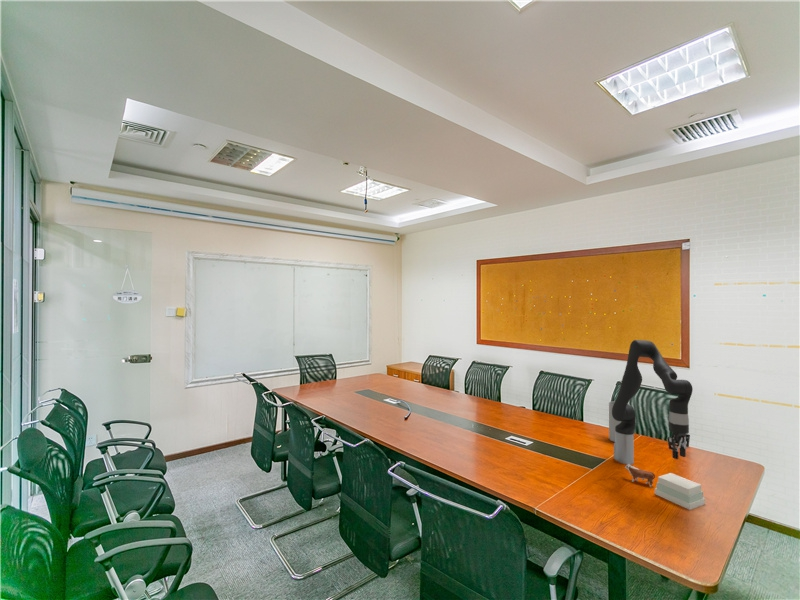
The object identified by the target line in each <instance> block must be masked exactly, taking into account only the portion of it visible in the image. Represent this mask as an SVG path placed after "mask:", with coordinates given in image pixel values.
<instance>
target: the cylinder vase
mask: <svg viewBox="0 0 800 600" xmlns="http://www.w3.org/2000/svg"><path fill="white" fill-rule="evenodd" d="M614 403H615V401H613V400H612V401H609V402H608V439H609V441H610V442H613V443H615V427H616V425H618V424H620V423H621V421H617V420H615V419H614V418H613V416H612V408H613V405H614ZM627 405H631V404H630V403H628V404H627Z"/></svg>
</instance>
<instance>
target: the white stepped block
mask: <svg viewBox="0 0 800 600" xmlns="http://www.w3.org/2000/svg"><path fill="white" fill-rule="evenodd" d="M654 495H656V496H658V497H661V498H663V499H665V500H667V501H670V502H671V503H673V504H676V505H679V506H680V507H682V508H685V509H686V510H688V511H691V510H694V509H696V508H700V507H702V506H704V505H706V497H704V491H703V490H702V484H701V483H699V482H695V481H693V480H690V479H688V478H684V477H682V476H680V475H678V474H675V473H673V472H669V473H665V474H663V475H659V476H657V482H656V487H655V488H654Z"/></svg>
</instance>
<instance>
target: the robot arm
mask: <svg viewBox="0 0 800 600" xmlns="http://www.w3.org/2000/svg"><path fill="white" fill-rule="evenodd" d="M639 358H649V359H651V360H652V362H653V363H652V364H653V365H652V367H653V368H652V369H653V371H654V373H655V374H656V376H658V378H659V379H660V380H661V382H662V384H663V388H664V390H665V392H666V393H669V394H670V395H674V396H677V397H675V398H671V399H670V400H669V402H668V403H669V405H668V406H669V410H668V411H669V414H668V430H669V432H671V436H670V437H669V436H668V437H667V444H668V449H669V450H671V451H672V455H671V456H672V458H673V459H675V460H679V456H680V457H683V458H685V457H686V456H687V455H686V454H687V452H686V450H687V448H689V446H690V437H691V435H690V434H689V433H690V428H689V427H690V424H689V423H690V418H689V402H690V400H691V398H692V394H693V385H692V383H691V382H690V381H689V380H686V379H678V374H677V373H676V371H675V370H674V369H673V368H672V367H671V366H670V365H669V364H668V363H667V361H665V359H664V357H663V355H662V354H661V352H660V351H659V349H658V347H657V346H656V344H654V342H652V341H651V340H646V339H645V340H642V339H634V340H632V341H631V342H630V345H629V349H628V354H627V362H626V365H625V369H624V372H623V375H622V379H621V382H620V388H619V390H618V393H617V396H616V398H615V403H614V405H613V408H612V416H613V418H614V419H615V420H617V421H621V423H620V424H618V425H616V427H615V442H613V459H614V460H615V462H617V461H618V463H620V464H623V465H628V464H630V465H633V464H634V463H635V461H634V459H635V453H634V452H635V451H634V449H635V448H634V447H635V446H634V445H635V444H634V437H635V435H634V432H635V429H636V415H637V414H636V411H635V408H634V407H633V406H632V405H631V404H630V405H627V404H629V402H630V401H631V399H633V398H634V397H635V396H636V394H637V393H638V392H639V391H640V389H641V386H642V382H643V377H642V374H641V371H640V370H639V369H640V368H639V366H638V362H639V360H640V359H639Z"/></svg>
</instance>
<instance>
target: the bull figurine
mask: <svg viewBox="0 0 800 600" xmlns="http://www.w3.org/2000/svg"><path fill="white" fill-rule="evenodd" d="M624 468H625V469H626V470H627V471H628V473H629V474H630V476H632V480H631V482H633V483H634V482H635V481H636V482H639V480H638V479H641V480H642V481H645V480H647V481H646V482H645V484H646V485H648V484H649V487H650V488H651V487H653V484H654V482H653V481H654V479H655V478H656V475H655V474H654V472H652V471H649V470H643V469H640V468H638V467H635V466H634V465H633V464H625V466H624Z"/></svg>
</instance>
